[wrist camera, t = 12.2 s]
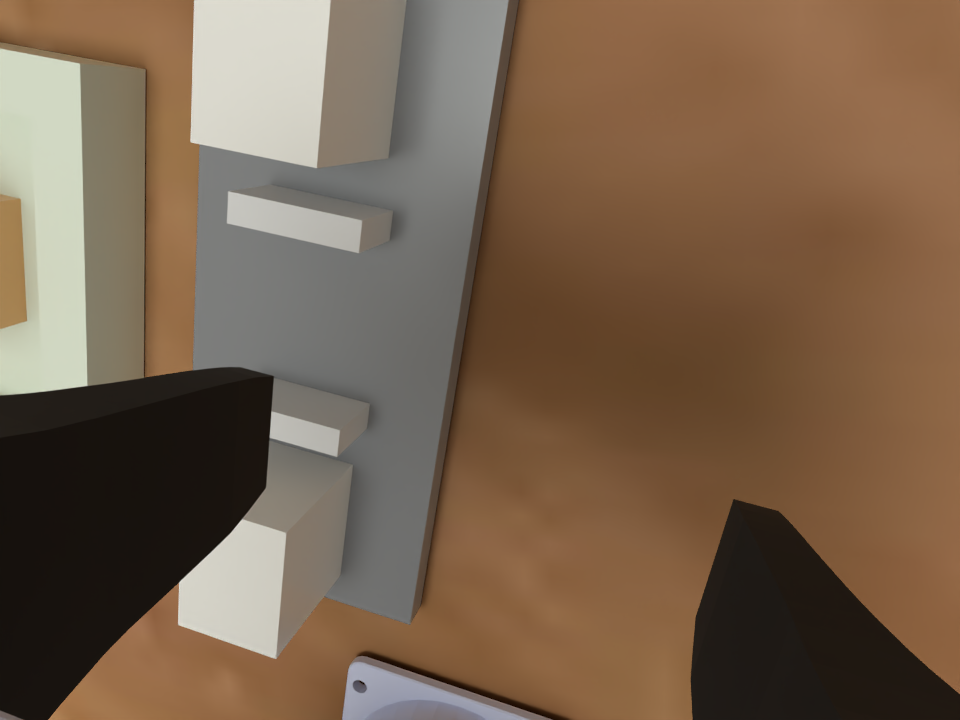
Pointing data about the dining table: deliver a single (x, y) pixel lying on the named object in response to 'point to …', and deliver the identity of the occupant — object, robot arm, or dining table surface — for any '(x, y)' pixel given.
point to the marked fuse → (11, 263)
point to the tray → (74, 218)
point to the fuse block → (338, 284)
